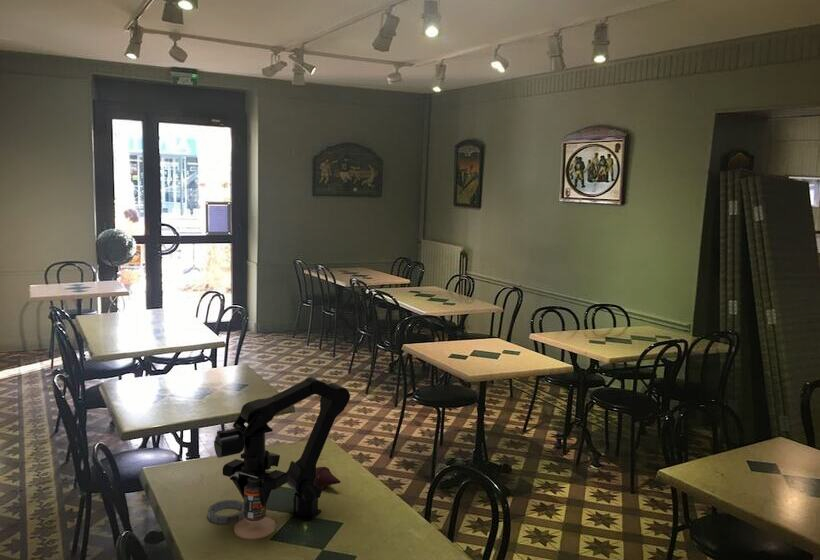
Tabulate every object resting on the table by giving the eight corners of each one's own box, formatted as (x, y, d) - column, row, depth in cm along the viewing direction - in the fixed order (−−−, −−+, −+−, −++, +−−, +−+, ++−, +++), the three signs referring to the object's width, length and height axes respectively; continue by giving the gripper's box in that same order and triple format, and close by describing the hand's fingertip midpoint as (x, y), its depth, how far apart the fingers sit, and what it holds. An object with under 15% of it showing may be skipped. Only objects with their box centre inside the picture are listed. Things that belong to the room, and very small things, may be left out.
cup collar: (253, 511, 192) (253, 505, 191) (228, 527, 182) (228, 520, 182) (226, 503, 196) (226, 496, 196) (200, 518, 187) (200, 511, 187)
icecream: (349, 469, 207) (314, 461, 216) (333, 471, 201) (298, 463, 210) (346, 492, 206) (311, 483, 215) (331, 494, 200) (295, 485, 209)
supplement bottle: (253, 524, 178) (253, 485, 176) (239, 517, 181) (238, 478, 180) (270, 516, 182) (270, 477, 181) (256, 509, 186) (256, 471, 184)
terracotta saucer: (283, 525, 184) (283, 522, 184) (256, 543, 175) (256, 540, 175) (253, 515, 190) (253, 512, 189) (225, 532, 180) (225, 529, 180)
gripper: (300, 446, 182) (300, 499, 184) (248, 433, 190) (249, 484, 193) (274, 460, 172) (274, 516, 174) (220, 446, 181) (221, 499, 183)
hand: (255, 503), depth 181 cm, fingers closed on supplement bottle, 6 cm apart
